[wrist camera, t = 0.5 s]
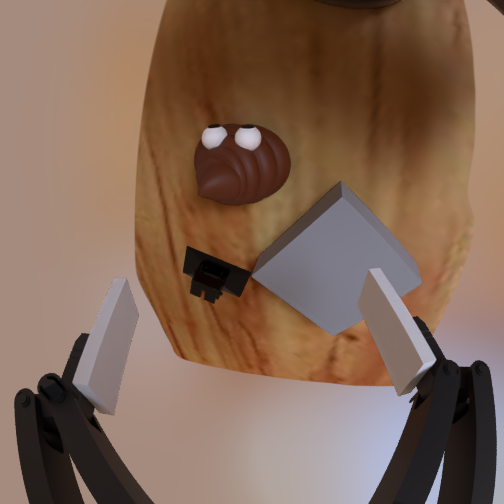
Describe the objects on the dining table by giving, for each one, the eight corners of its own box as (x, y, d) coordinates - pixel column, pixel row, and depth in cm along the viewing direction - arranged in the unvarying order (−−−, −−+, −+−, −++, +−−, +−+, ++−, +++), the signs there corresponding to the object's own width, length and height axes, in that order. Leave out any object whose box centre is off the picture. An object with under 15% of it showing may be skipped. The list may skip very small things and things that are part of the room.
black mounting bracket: (174, 269, 42) (160, 289, 38) (180, 232, 37) (163, 252, 33) (248, 301, 41) (239, 325, 38) (264, 269, 37) (255, 293, 33)
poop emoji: (203, 190, 32) (164, 232, 24) (198, 118, 26) (148, 140, 19) (289, 198, 30) (274, 247, 22) (293, 120, 24) (278, 141, 17)
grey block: (340, 180, 27) (342, 196, 24) (415, 261, 29) (422, 283, 26) (259, 255, 35) (251, 276, 32) (334, 314, 38) (332, 336, 35)
